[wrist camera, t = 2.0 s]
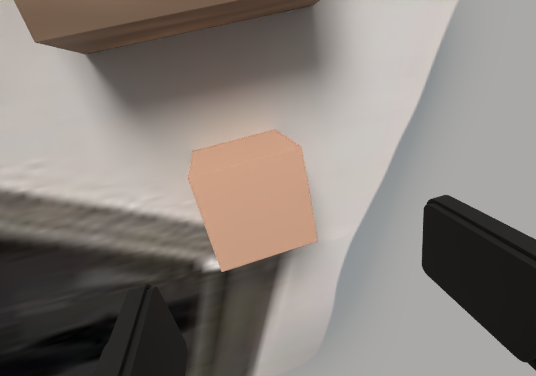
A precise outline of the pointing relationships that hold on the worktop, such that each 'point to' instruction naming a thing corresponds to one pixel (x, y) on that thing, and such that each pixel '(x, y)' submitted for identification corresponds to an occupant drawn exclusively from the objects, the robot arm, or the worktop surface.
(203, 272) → the worktop surface
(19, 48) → the worktop surface
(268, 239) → the peach cube
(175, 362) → the robot arm
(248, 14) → the walnut stand
